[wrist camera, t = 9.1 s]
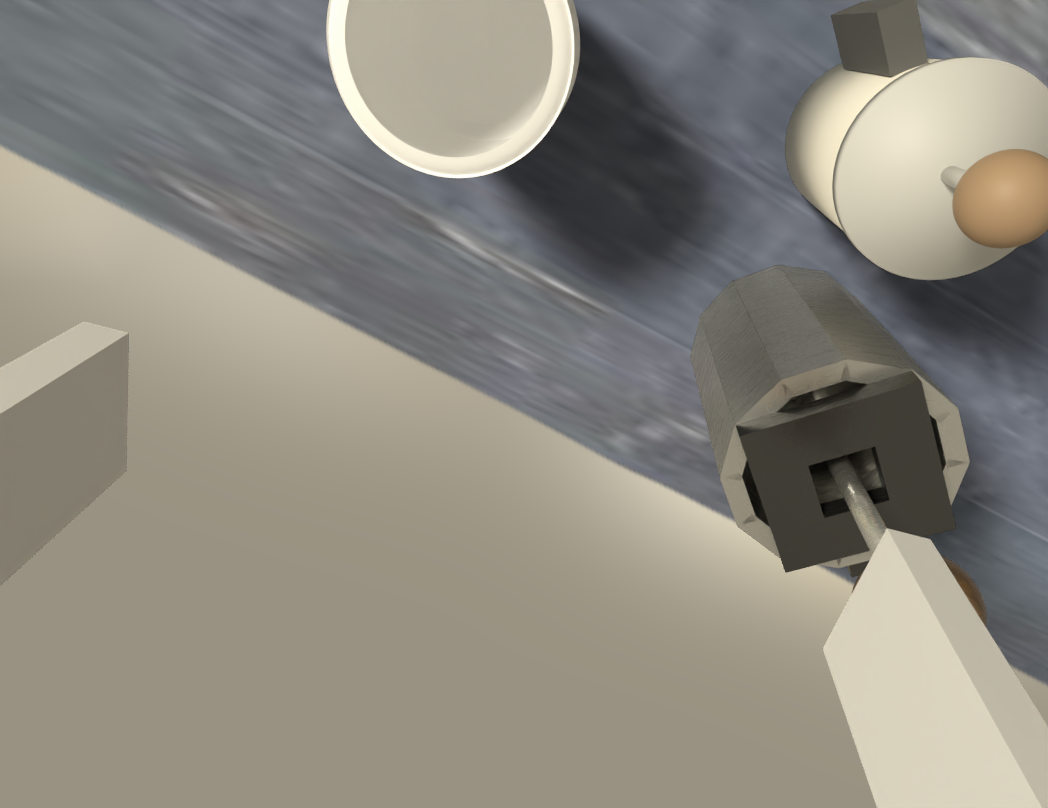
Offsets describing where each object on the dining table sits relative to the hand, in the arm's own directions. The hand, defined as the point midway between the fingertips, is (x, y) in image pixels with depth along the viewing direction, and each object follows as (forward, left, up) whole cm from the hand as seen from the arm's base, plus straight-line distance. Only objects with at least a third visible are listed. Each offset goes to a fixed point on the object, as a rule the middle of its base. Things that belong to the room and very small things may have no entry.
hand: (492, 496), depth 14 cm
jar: (+2, -8, -39) cm, 40 cm away
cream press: (-16, +4, -39) cm, 42 cm away
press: (-8, +17, -39) cm, 43 cm away
